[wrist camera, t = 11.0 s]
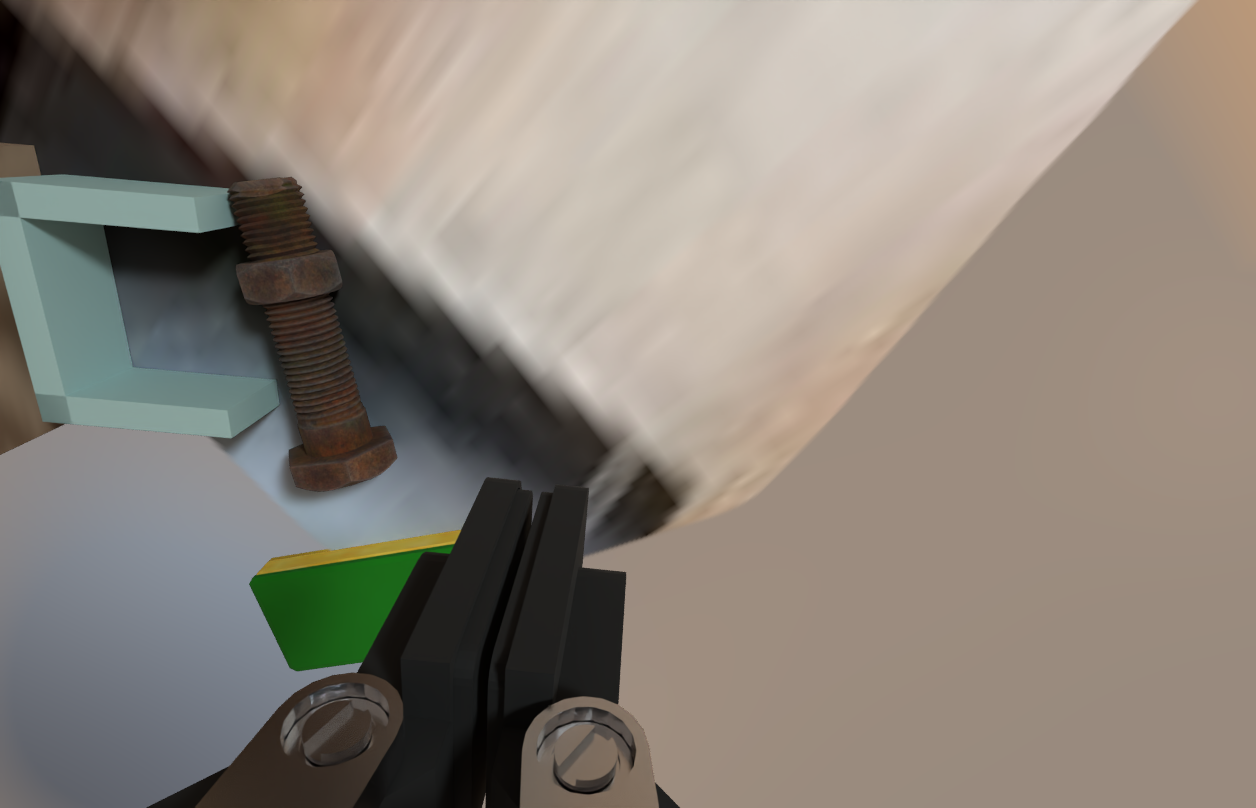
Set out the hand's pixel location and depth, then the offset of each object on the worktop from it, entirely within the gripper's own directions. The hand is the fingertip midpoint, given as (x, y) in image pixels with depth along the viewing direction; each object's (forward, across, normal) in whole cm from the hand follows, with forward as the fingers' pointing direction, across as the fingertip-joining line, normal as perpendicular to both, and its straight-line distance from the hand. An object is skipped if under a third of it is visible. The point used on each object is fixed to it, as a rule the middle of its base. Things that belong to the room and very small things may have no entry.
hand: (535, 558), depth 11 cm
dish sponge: (+25, +12, +22) cm, 35 cm away
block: (+24, +23, +4) cm, 34 cm away
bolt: (+25, +15, +5) cm, 29 cm away
